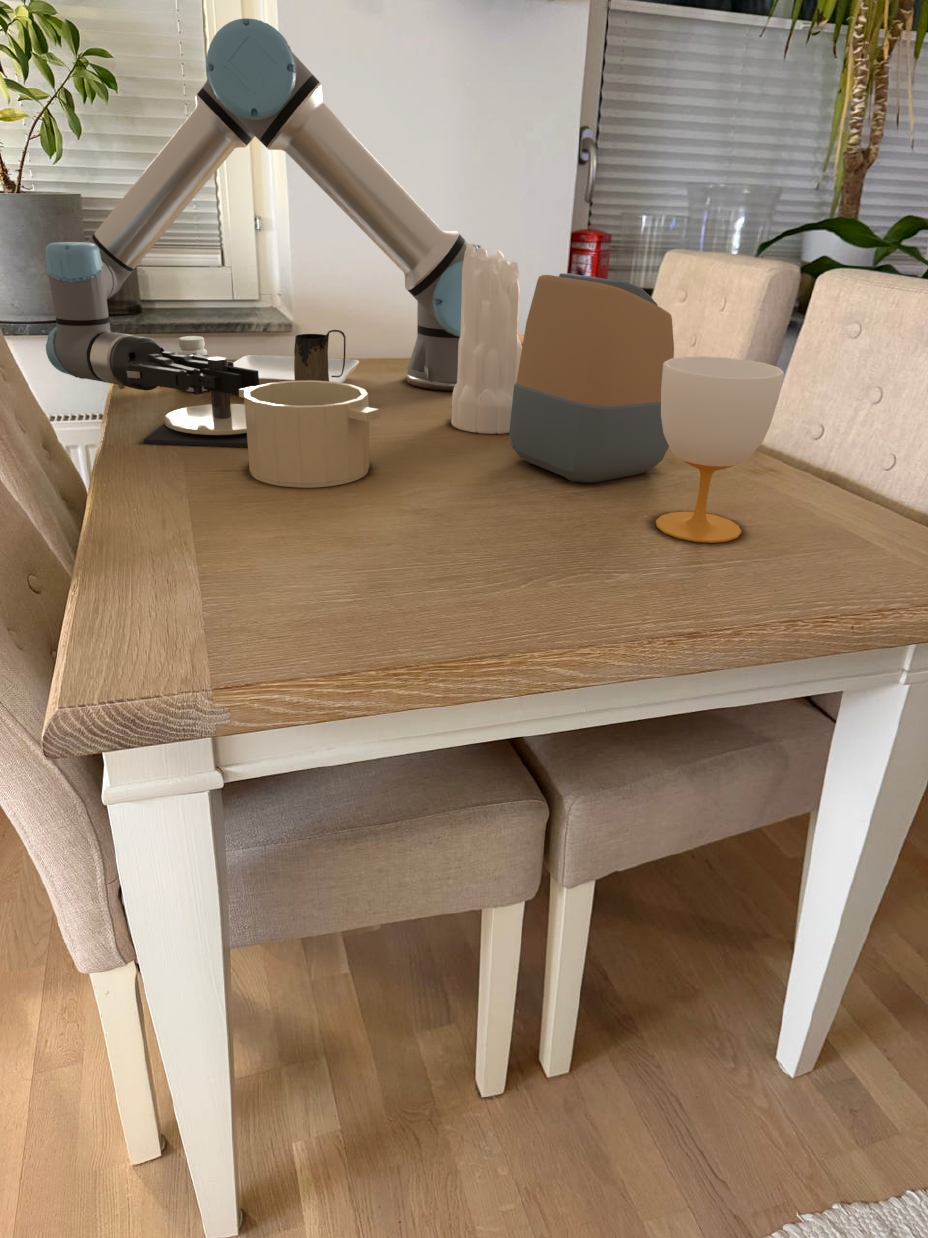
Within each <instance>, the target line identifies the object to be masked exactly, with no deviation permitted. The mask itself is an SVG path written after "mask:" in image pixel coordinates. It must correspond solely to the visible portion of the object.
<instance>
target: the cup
mask: <svg viewBox="0 0 928 1238" xmlns="http://www.w3.org/2000/svg"><path fill="white" fill-rule="evenodd" d="M784 377H785V372H784V371H783V370H782V369H781V368H780V367H778V366H775V365H772V364H769V363H766V362H760V361H755V360H750V359H743V358H733V357H726V356H725V357H724V356H704V355H703V356H701V355H699V356H681V357H674V358H673V359H669V360H667V361H665V362H664V363H663V373H662V384H661V420H662V427H663V433H664V436H665V438H666V441H667V443H668V445H669V447H668V448H669V449H670V451H671V453H672V454H673V455H674V456H675V457H676V458H678V459H679V460H681V461H683V462H684V463H685V464H687V465H689V466H691V467H693V468H695V469H698V471H699V474H700V475H699V476H700V477H699V486H698V493H697V498H696V499H697V500H696V505H695V508H694V511H675V512H673V511H672V512H667V513H666V514H661V515H660V516H659V517H658V518H657V519H656V520H655V524H656V528H657V529H659V530H660V531H661V532H662V533H664V534H665V535H668V536H670V537H673V538H676V539H678V540H683V541H689V542H693V543H706V544H716V543H727V542H730V541H733V540H736V539H738V538H739V537H740V535H741V534H742V529H741V528H740V526H739V525H738V524H737V523H736V522H735V521H732V520H731V519H728V518H726V517H722V516H719V515H715V514H710V513H707V507H708V506H707V505H708V496H709V490H710V485H711V481H712V477H713V474H714V473H715V472H716V471H723V470H725V469H729V468H732V467H735V466H738V465H741V464H742V463H745V462H746V461H747V460H748V459H749V458H750V457H752V455H753V454H754V453H755V451H756V450H758V448H759V447H761V446H762V444H763V442H764V440H765V438H766V436H767V433H768V431H769V430H770V427H771V424H772V421H773V418H774V415H775V411H776V409H777V405H778V402H779V398H780V394H781V391H782V385H783V382H784V381H783V380H784Z"/></svg>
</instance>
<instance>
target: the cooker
mask: <svg viewBox="0 0 928 1238" xmlns="http://www.w3.org/2000/svg"><path fill="white" fill-rule="evenodd" d="M238 397H239V398H243V402H244V403H243V404H245V417H246V429H247V442H248V447H247V453H248V455H247V456H248V465H249V466H248V467H249V473H250V475H251V476H252V477H253V478H254V479H255V480H257V481H260V482H262V483H264V484H269V485H271V486H277V487H285V488H297V489H300V488H302V489H305V488H306V489H307V488H308V489H313V488H314V489H315V488H326V487H334V486H341V485H345V484H348V483H352V482H355V481H357V480H360V479H362V478H364V477H365V476H367V474H368V472H369V468H370V422H371V421H372V420H376V419H379V418H380V408H375V407H370V406H369V393H368V392H367V390H366V389H365V388H363V387H361V386H357V385H354V384H351V383H345V382H344V383H339V382H330V381H313V380H308V381H284V382H274V383H267V384H263V385H258V386H254V387H253V386H251V387H246V388H242V389H239V396H238Z"/></svg>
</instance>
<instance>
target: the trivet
mask: <svg viewBox="0 0 928 1238" xmlns="http://www.w3.org/2000/svg"><path fill="white" fill-rule="evenodd" d="M143 444H148V445H149V444H150V445H174V446H175V445H176V446H202V447H203V446H204V447H227V448H228V447H231V448H248V442H247V433H244V434H236V435H201V434H192V433H185V432H180V431H176V430H173V429H170V428H169V427H167V426H166V425H165V424H164V423H163V424H162V425H161V426H159V427H158V428H156V429H155V430H154V431H152V432H151V433H150V434H149V435H147V436H145V437H144V438H143Z"/></svg>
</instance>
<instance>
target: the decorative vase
mask: <svg viewBox="0 0 928 1238" xmlns="http://www.w3.org/2000/svg"><path fill="white" fill-rule="evenodd" d="M472 244H473V243H468V245H467V246H466V251H465V255H464V261H463V267H462V296H461V333H460V338H459V343H458V374H457V383H456V384H455V386H454V390H452V397H451V398H452V399H451V426H453V427H454V428H455V429H458V430H460V431H464V432H469V433H477V434H486V435H488V434H490V435H495V434H499V435H500V434H509V431H510V421H511V411H512V401H513V391H514V385H515V384H516V382H517V376H518V370H519V364H520V358H521V352H522V345H521V342H520V340H519V338H518V334H519V319H520V301H521V299H520V297H521V287H520V271H519V265H518V262H516V261H511V262H509V260H506V257H505V255H504V253H503V252H502V251H501V250H500V249H499V248H498V249H497V251H496V254H497V255H496V254H488V251H487V249H486V248H485V247H484V248H482V247H483V246H482V247H480V248H478V249H477V251H476V248H475V247H474V246H473V245H472Z"/></svg>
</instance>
